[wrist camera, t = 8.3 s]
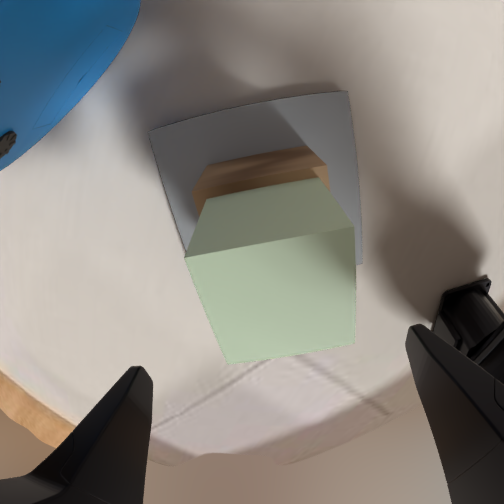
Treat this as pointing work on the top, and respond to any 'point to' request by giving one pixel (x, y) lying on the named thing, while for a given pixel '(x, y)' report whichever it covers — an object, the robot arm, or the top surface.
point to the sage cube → (276, 271)
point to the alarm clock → (53, 61)
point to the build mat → (260, 149)
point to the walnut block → (258, 173)
